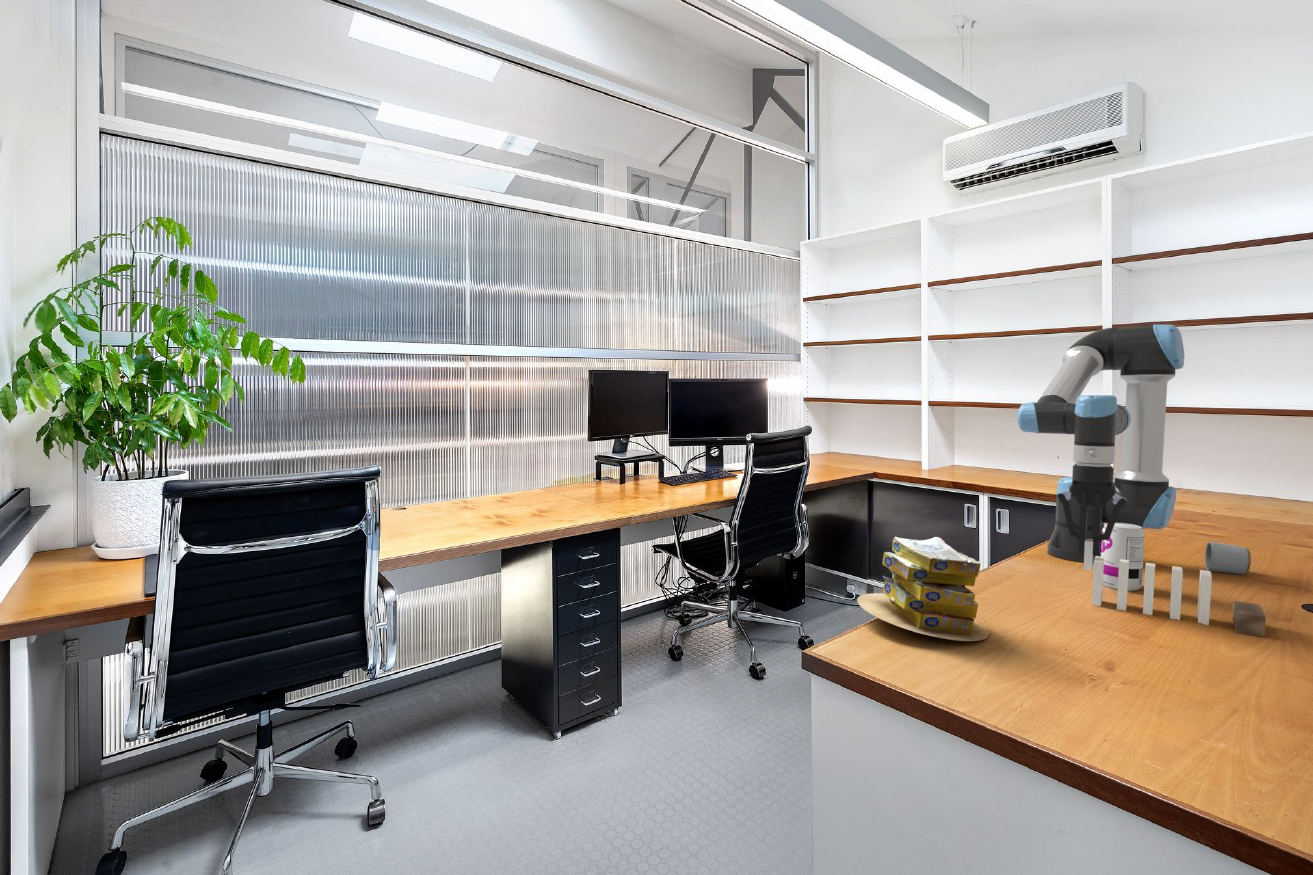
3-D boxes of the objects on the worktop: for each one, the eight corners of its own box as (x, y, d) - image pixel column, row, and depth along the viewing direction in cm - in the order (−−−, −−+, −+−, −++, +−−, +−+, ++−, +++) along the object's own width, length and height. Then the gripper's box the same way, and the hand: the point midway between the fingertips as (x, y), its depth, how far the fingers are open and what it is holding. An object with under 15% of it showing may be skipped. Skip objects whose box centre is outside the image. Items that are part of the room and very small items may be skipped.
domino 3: (1142, 613, 135) (1145, 567, 134) (1143, 607, 139) (1145, 562, 138) (1152, 615, 134) (1154, 568, 133) (1152, 609, 138) (1155, 563, 137)
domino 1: (1091, 604, 140) (1093, 560, 140) (1093, 599, 144) (1095, 556, 144) (1100, 606, 139) (1102, 561, 139) (1102, 600, 143) (1104, 557, 143)
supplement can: (1102, 588, 152) (1105, 527, 151) (1097, 579, 159) (1100, 520, 158) (1144, 593, 148) (1148, 530, 147) (1137, 584, 156) (1140, 523, 154)
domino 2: (1116, 609, 138) (1118, 564, 137) (1117, 603, 142) (1120, 559, 141) (1125, 610, 137) (1128, 565, 136) (1126, 604, 141) (1129, 560, 140)
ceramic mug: (1251, 578, 161) (1253, 548, 160) (1209, 573, 165) (1211, 544, 165) (1240, 568, 170) (1241, 540, 169) (1200, 564, 174) (1202, 537, 174)
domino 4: (1170, 618, 132) (1172, 571, 131) (1169, 611, 136) (1172, 566, 135) (1179, 620, 131) (1182, 572, 130) (1179, 613, 135) (1182, 567, 134)
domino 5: (1198, 623, 129) (1201, 575, 129) (1197, 616, 133) (1200, 569, 132) (1208, 625, 128) (1211, 576, 128) (1207, 618, 132) (1210, 571, 131)
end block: (1236, 632, 124) (1237, 612, 124) (1232, 619, 131) (1233, 600, 131) (1264, 637, 122) (1265, 616, 121) (1258, 623, 129) (1260, 604, 128)
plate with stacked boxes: (962, 606, 140) (965, 531, 139) (1011, 651, 115) (1014, 561, 114) (847, 601, 143) (849, 528, 142) (870, 644, 118) (872, 556, 117)
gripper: (1056, 463, 142) (1051, 567, 144) (1128, 468, 134) (1123, 577, 136) (1060, 461, 148) (1056, 560, 150) (1130, 465, 140) (1124, 570, 141)
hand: (1088, 568), depth 143 cm, fingers closed
